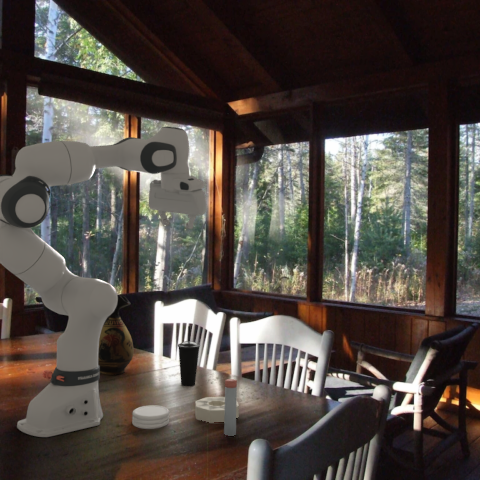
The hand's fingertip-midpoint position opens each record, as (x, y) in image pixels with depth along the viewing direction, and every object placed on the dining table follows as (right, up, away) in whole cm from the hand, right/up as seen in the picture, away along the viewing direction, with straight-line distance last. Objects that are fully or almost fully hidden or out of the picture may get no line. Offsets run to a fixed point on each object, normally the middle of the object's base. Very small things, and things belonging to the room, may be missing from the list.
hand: (177, 226), depth 162 cm
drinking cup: (+1, -54, +20) cm, 58 cm away
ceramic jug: (-29, -53, +34) cm, 70 cm away
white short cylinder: (-5, -54, -18) cm, 57 cm away
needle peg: (+17, -54, -26) cm, 62 cm away
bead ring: (+12, -54, -11) cm, 57 cm away
